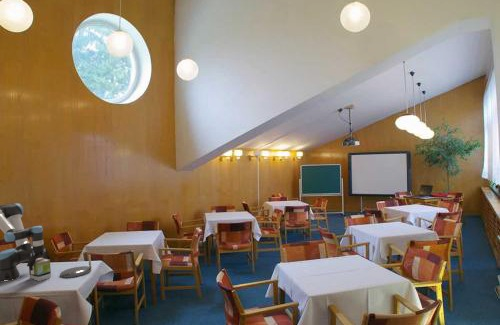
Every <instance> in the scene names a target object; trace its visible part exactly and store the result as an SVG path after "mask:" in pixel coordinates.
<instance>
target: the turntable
mask: <svg viewBox="0 0 500 325" xmlns="http://www.w3.org/2000/svg"><path fill="white" fill-rule="evenodd" d="M91 255H92V254H88V266H86V265H83V266H75V267H70V268H67V269H64V270H62V271H60V274H59V276H60V277H61V278H63V279H71V278H78V277H81V276H84V275H87V274H89V273H90V272H92V258H91V257H92V256H91Z"/></svg>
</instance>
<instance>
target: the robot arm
mask: <svg viewBox="0 0 500 325" xmlns="http://www.w3.org/2000/svg"><path fill="white" fill-rule="evenodd" d="M23 214H24V207H23V206H22V205H21V203H20V202H19V203H17V202H16V203H15V202H14V203H13V202H12V203H8V204H7V203H6V204H0V230H1V231H2V233H3V234H4V235H3V238H4V241H5V242H6V243H10V242H15V244H16V247H15V248H8V249H7V248H6V249H4V250H1V251H0V281H4V280H11V281H13V280H12V279H14V280H16V279H15V278H17V279H18V277H19V276H20V277H21V275H20V272H19V269H18V267H17V264H20V263H25V262H27V264H26V267H28V268H29V267H30V271H31V274H34V266H33V265H34V263H35V261H36V259H38V258H45V259H49V260H50V261H51V259H52V257H51V255H50V253H49V251H48V248H45V245H44V244H45V242H44V229H43V226H42V225H36V226H32V227H26V228H25V227H24V223H23V221H22V217H23ZM29 238H31V241H32V243H31V242H29ZM20 277H19V278H20Z"/></svg>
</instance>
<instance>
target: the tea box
mask: <svg viewBox="0 0 500 325" xmlns="http://www.w3.org/2000/svg"><path fill="white" fill-rule="evenodd" d="M33 266H34V274H31V271H30V267H29V266H28V269H29V271H28V272H29V274H28V275H29V279H30V278H31V280H33V279H34V281H36V280H37V281H36V282H41V281H44V280H47V279H50V278H51V277H52V273H51V259H50V260H49V259H45V258H43V257H38V258H37V259H36V261H35V263H34V265H33Z"/></svg>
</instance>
